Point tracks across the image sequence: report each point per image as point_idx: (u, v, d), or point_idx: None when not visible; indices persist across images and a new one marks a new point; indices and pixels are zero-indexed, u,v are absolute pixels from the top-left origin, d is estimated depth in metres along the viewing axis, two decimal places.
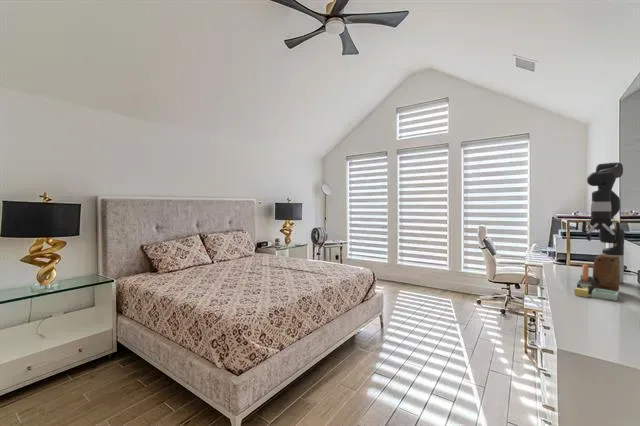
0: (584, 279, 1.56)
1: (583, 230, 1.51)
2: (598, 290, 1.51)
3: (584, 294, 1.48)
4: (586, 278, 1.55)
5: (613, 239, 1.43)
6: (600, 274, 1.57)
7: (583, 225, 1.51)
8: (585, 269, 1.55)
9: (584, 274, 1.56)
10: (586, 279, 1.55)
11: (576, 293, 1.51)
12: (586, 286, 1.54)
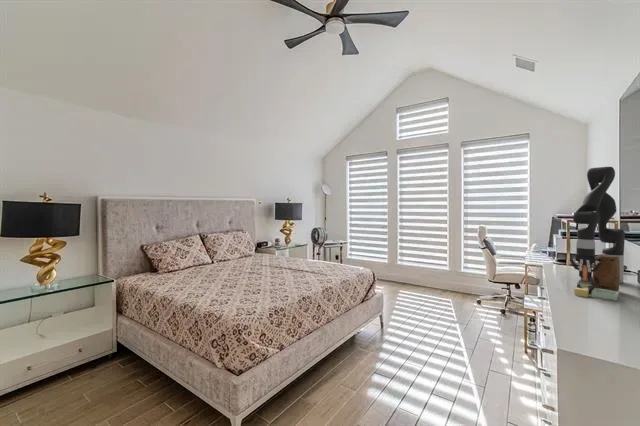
0: (584, 279, 1.56)
1: (576, 267, 1.58)
2: (598, 290, 1.51)
3: (584, 294, 1.48)
4: (586, 278, 1.55)
5: (589, 276, 1.54)
6: (600, 274, 1.57)
7: (572, 263, 1.60)
8: (585, 269, 1.55)
9: (584, 274, 1.56)
10: (586, 279, 1.55)
11: (576, 293, 1.51)
12: (586, 286, 1.54)
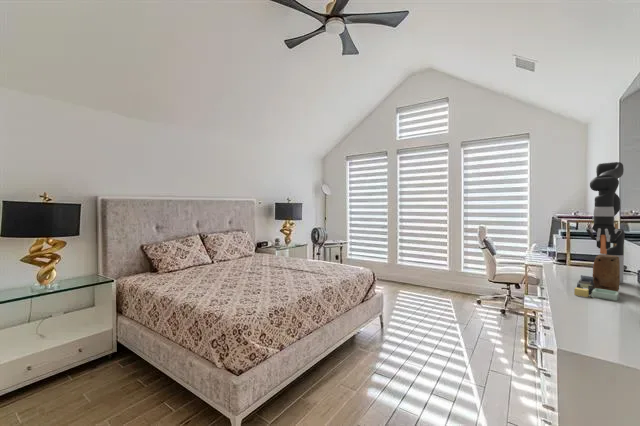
0: (602, 249, 1.46)
1: (593, 237, 1.49)
2: (598, 290, 1.51)
3: (584, 294, 1.48)
4: (604, 248, 1.46)
5: (608, 246, 1.45)
6: (600, 274, 1.57)
7: (589, 233, 1.50)
8: (603, 239, 1.46)
9: (602, 244, 1.46)
10: (604, 249, 1.46)
11: (576, 293, 1.51)
12: (586, 286, 1.54)
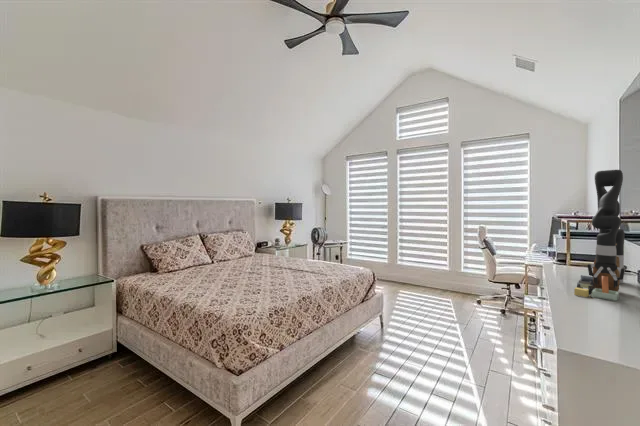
0: (604, 291, 1.46)
1: (590, 273, 1.50)
2: (598, 290, 1.51)
3: (584, 294, 1.48)
4: (606, 290, 1.46)
5: (615, 284, 1.43)
6: (600, 274, 1.57)
7: (589, 268, 1.51)
8: (605, 280, 1.47)
9: (604, 286, 1.47)
10: (606, 291, 1.46)
11: (576, 293, 1.51)
12: (586, 286, 1.54)
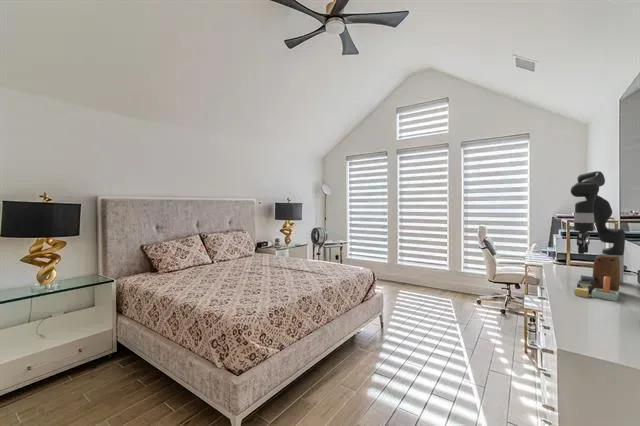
0: (604, 292, 1.46)
1: (583, 243, 1.40)
2: (598, 290, 1.51)
3: (584, 294, 1.48)
4: (607, 291, 1.46)
5: None
6: (600, 274, 1.57)
7: (583, 238, 1.40)
8: (606, 281, 1.46)
9: (605, 286, 1.46)
10: (607, 292, 1.46)
11: (576, 293, 1.51)
12: (586, 286, 1.54)
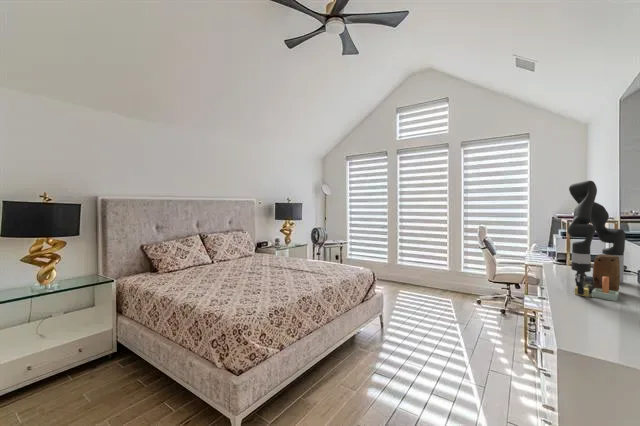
0: (604, 292, 1.46)
1: (582, 285, 1.46)
2: (598, 290, 1.51)
3: (584, 293, 1.49)
4: (606, 291, 1.46)
5: None
6: (600, 274, 1.57)
7: (581, 282, 1.45)
8: (605, 281, 1.46)
9: (604, 287, 1.46)
10: (606, 292, 1.46)
11: (576, 292, 1.52)
12: (586, 286, 1.54)
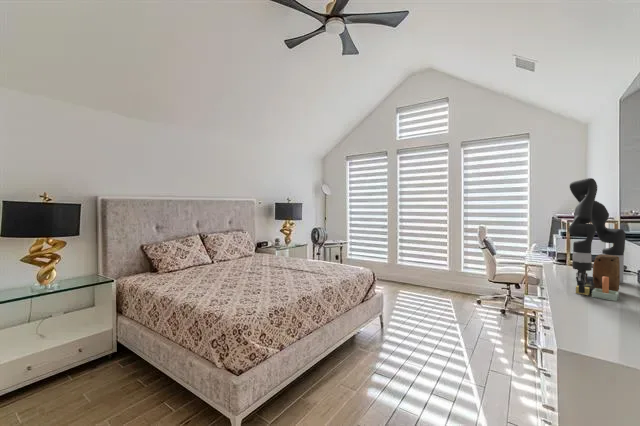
0: (604, 292, 1.46)
1: (583, 284, 1.48)
2: (598, 290, 1.51)
3: (585, 291, 1.51)
4: (606, 291, 1.46)
5: None
6: (600, 274, 1.57)
7: (582, 281, 1.47)
8: (605, 281, 1.46)
9: (604, 287, 1.46)
10: (606, 292, 1.46)
11: (577, 291, 1.53)
12: (586, 286, 1.54)
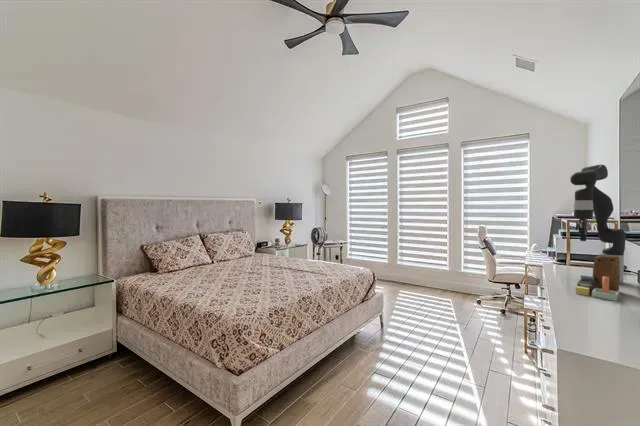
0: (604, 292, 1.46)
1: (585, 231, 1.49)
2: (598, 290, 1.51)
3: (585, 292, 1.51)
4: (606, 291, 1.46)
5: None
6: (600, 274, 1.57)
7: (584, 228, 1.48)
8: (605, 281, 1.46)
9: (604, 287, 1.46)
10: (606, 292, 1.46)
11: (577, 291, 1.53)
12: (586, 286, 1.54)
